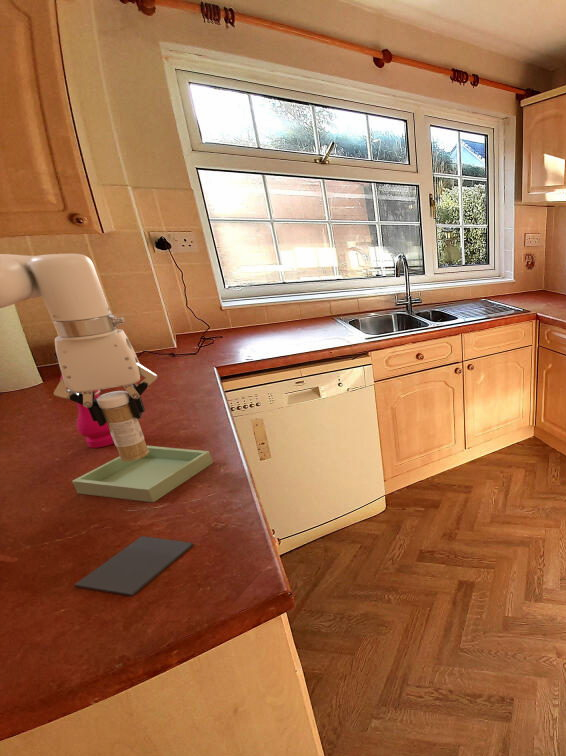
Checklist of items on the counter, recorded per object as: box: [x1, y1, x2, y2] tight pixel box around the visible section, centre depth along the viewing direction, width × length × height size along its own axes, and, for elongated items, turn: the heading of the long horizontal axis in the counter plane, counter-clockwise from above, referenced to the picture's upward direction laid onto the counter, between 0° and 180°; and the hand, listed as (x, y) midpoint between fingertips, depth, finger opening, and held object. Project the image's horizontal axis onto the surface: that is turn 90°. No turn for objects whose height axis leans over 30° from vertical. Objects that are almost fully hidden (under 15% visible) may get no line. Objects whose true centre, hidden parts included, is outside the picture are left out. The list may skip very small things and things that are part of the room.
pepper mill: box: [59, 374, 115, 449], centre depth 97 cm, size 7×7×20 cm
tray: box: [71, 445, 214, 503], centre depth 86 cm, size 18×14×3 cm
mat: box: [74, 535, 195, 597], centre depth 65 cm, size 10×10×1 cm
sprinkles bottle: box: [97, 390, 149, 461], centre depth 82 cm, size 5×5×14 cm
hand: (121, 418), depth 81 cm, fingers closed on sprinkles bottle, 4 cm apart
